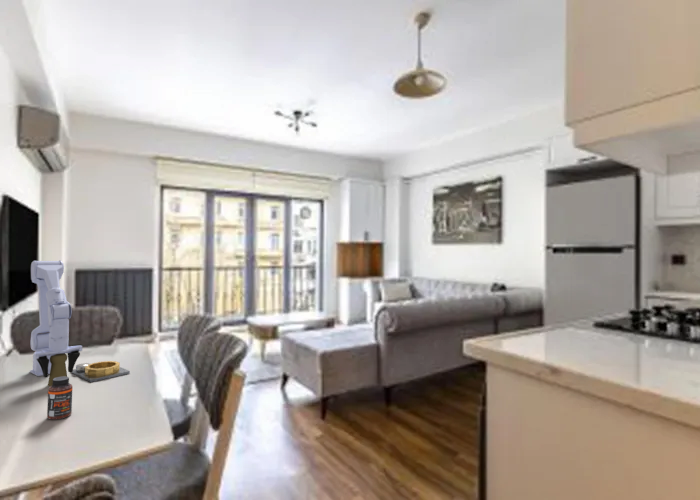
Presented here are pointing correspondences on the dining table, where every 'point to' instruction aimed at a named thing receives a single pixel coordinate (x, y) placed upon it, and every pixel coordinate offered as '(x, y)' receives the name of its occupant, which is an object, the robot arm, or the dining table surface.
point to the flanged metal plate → (99, 370)
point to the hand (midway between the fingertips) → (58, 374)
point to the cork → (57, 367)
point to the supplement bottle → (59, 398)
